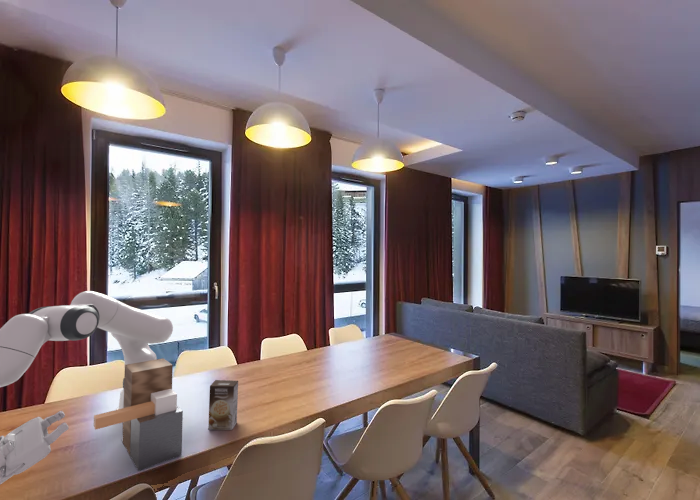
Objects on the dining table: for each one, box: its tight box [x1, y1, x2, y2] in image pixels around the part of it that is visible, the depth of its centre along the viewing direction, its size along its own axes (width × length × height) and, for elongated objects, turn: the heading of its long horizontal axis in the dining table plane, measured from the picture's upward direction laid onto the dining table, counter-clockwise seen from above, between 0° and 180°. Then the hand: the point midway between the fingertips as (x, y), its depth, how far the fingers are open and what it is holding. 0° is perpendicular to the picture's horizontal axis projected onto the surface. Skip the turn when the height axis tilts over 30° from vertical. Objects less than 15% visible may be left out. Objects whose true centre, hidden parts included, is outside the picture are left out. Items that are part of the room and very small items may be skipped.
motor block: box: [129, 405, 184, 472], centre depth 109 cm, size 12×10×14 cm
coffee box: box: [207, 379, 239, 431], centre depth 129 cm, size 9×6×16 cm
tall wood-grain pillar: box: [121, 357, 174, 456], centre depth 117 cm, size 12×10×26 cm
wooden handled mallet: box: [93, 388, 178, 431], centre depth 106 cm, size 21×6×5 cm, turn 134°
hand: (65, 418), depth 94 cm, fingers open, 8 cm apart
